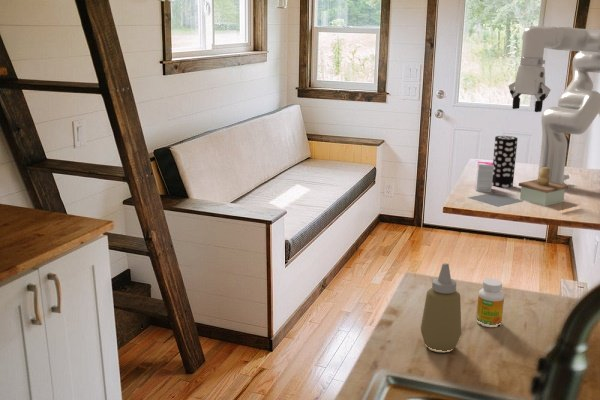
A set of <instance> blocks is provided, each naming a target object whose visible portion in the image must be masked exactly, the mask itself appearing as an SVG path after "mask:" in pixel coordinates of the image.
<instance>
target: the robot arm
mask: <svg viewBox="0 0 600 400" xmlns="http://www.w3.org/2000/svg"><path fill="white" fill-rule="evenodd" d="M521 39H522V40H521V41H522V43H521V46H522V47H521V54H520V65H518V68H517V72H516V75H515V81H514V82H513V83H511V84H509V85H508V89H509V94H510V95H511V98H512V109H513V110H517V109H520V106H521V105H520V104H521V97H520V96H521V95H528V96H529V95H530V96H534V97H535V99H536V100H535V102H534V103H535V104H534V112H535V113H540V112H542V109H543V105H544V104H543V103H544V101H545V99H547V98H548V97H549V94H550V92H551V90H552V89H551V88H550V87H548V86H547V85H546V71H545V66H543V65H545V64H546V60H544V54H545V53H544V52H545V49H549V50H555V51H565V52H566V51H570V52H577V53H576V54H574V57H573V59H572V78H571V81H570V83H569V84H568V86H567V87H566V88H565V90H564V91H563V92H562V94H561V95H560V97H559V98H558V101H557V106H551V107H547V108H546V109H544V111H543V113H542V114H541V130H542V131H541V133H542V134H541V135H542V136H541V145H540V155H539V163H538V173H537V179H539V171H540V167H548V168H550V177H549V181H550V182H555V183H559V184H563V185H567V183H565V182H564V181H566V180H569V179H570V175H569V174H565V167H566V161H567V160H566V158H567V151H568V140H567V136H566V135H565V134H568V135H569V134H570V135H577V136H578V135H582V134H584V133H585V132H586V131H587V130H588V129H589V127H590V126H591V125H592V123H593V122H594V120H595V119H596V117H597V116H598V114H599V113H600V92H598V91H597V90H593V88H594V83H593V80H592V78H591V77H590V74H589V73H597V74H598V73H599V74H600V29H599V28H598V29H596V28H577V27H569V26H568V27H567V26H564V27H563V26H561V27H560V26H558V27H557V26H545V25H544V26H541V25H540V26H539V25H538V26H535V25H533V26H532V25H531V26H528V27H526V28H524V30H523V32H522V36H521Z"/></svg>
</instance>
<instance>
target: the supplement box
mask: <svg viewBox="0 0 600 400" xmlns="http://www.w3.org/2000/svg"><path fill="white" fill-rule="evenodd" d="M476 168H477V169H476V177H475V186H474V189H475V192H482V193H483V192H484V193H485V192H487V193H492V187H493V186H492V179H493V170H494V165H493V161H492V162H488V161H477V167H476Z"/></svg>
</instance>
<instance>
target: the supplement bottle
mask: <svg viewBox="0 0 600 400" xmlns="http://www.w3.org/2000/svg"><path fill="white" fill-rule="evenodd" d="M502 288H503V282H502V281H501V280H499V279H496V278H485V279H483V281H482V288H481V289H479V291H478V295H477V305H476V306H477V308H476V316H475V319H476V318H477V320H478V321H480V322H482V323H484V324H489V325H496V324H499V323H501V324H502V322H501V321H503V311H504V303H505V293H504V291H502V290H503V289H502Z"/></svg>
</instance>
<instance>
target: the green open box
mask: <svg viewBox="0 0 600 400" xmlns="http://www.w3.org/2000/svg"><path fill="white" fill-rule="evenodd" d="M565 191H566V189H563V190H559V191H554V192H549V193H545V192H541V191H537V190H533V189H529V188H525V187H521V186H520V197H519V200H522V201H523V202H524V201H525V202H528V203H532V204H535V205H540V206H543V207H548V206H552V205H555V204H560V203H564V200H565Z"/></svg>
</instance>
